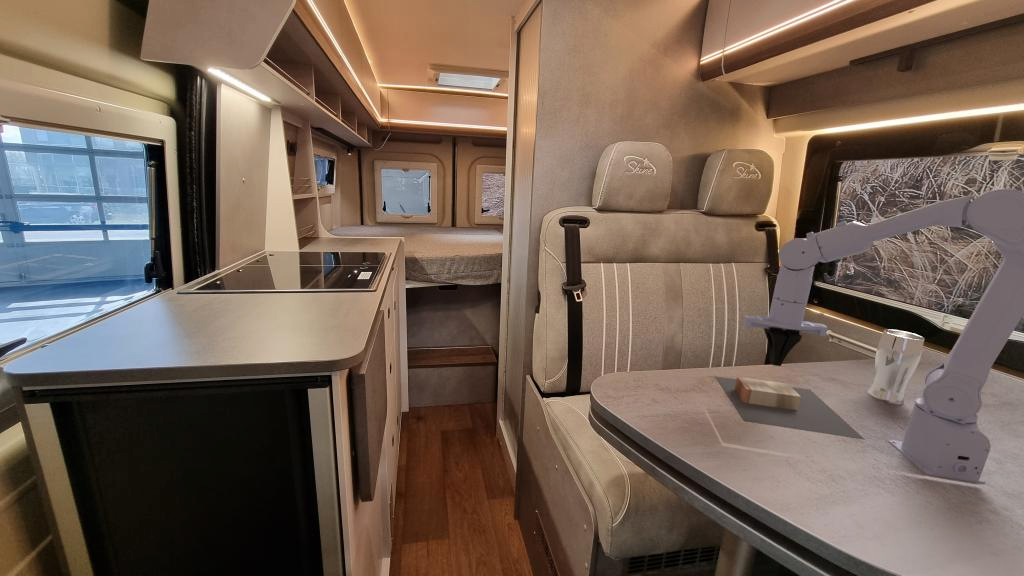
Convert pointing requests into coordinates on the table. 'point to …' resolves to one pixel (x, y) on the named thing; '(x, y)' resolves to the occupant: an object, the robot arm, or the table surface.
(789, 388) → the birch block
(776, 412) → the rubber mat
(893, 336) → the beer glass
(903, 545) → the table surface
